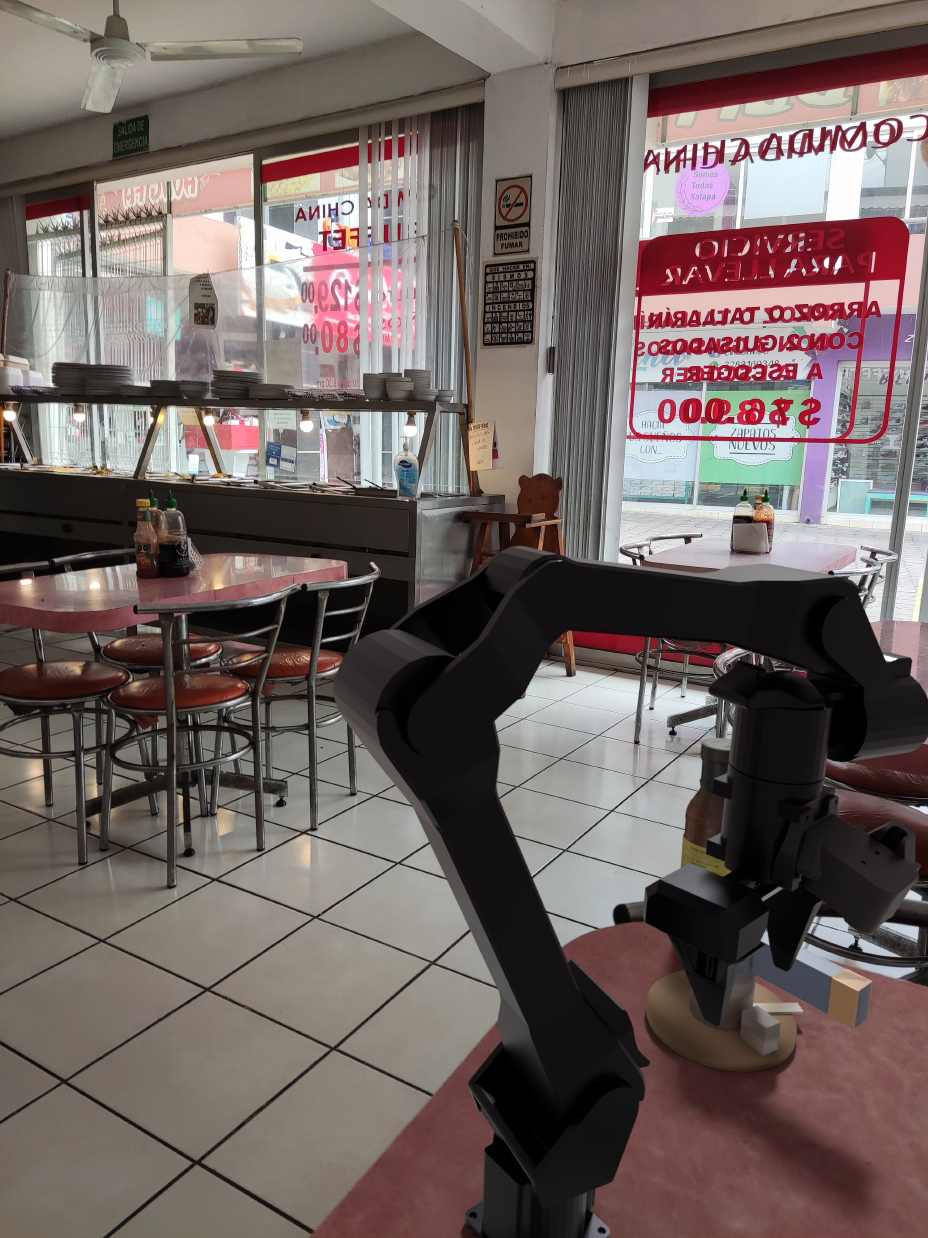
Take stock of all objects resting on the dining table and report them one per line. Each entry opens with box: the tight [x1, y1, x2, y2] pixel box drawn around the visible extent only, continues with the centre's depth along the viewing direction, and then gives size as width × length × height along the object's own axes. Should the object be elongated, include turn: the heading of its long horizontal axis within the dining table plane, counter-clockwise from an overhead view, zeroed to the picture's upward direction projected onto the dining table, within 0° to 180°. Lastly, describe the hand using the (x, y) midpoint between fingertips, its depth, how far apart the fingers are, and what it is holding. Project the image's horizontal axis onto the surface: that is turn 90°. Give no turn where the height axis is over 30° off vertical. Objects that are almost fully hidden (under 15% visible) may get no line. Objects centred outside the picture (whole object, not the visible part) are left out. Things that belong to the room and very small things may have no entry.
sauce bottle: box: [680, 737, 731, 876], centre depth 85 cm, size 6×6×20 cm
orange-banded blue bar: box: [737, 930, 873, 1030], centre depth 69 cm, size 14×6×3 cm, turn 39°
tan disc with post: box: [645, 970, 804, 1073], centre depth 74 cm, size 12×12×6 cm
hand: (749, 994), depth 58 cm, fingers open, 9 cm apart
